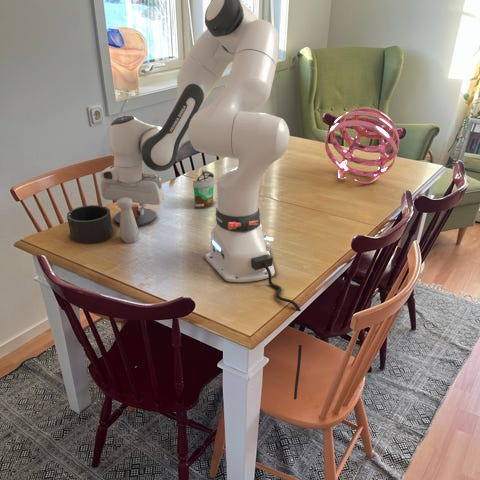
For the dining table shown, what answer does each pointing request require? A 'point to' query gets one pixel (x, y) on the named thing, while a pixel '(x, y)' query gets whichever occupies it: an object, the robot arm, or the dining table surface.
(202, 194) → the food container
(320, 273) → the dining table surface
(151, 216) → the canister lid
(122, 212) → the salt shaker
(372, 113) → the pink ring sphere sculpture
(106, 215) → the canister
